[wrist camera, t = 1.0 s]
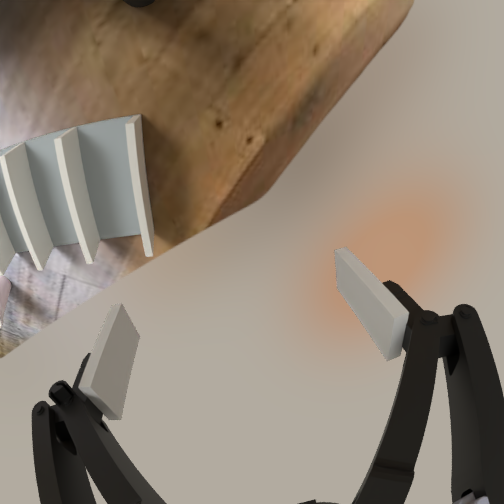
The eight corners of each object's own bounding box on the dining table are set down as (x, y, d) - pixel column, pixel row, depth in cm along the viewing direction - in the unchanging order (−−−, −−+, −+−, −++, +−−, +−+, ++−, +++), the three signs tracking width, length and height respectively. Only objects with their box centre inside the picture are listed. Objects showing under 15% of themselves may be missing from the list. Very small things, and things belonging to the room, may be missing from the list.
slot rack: (-17, 157, 24) (-40, 174, 19) (141, 113, 31) (134, 122, 25) (13, 250, 35) (-1, 275, 30) (154, 229, 42) (152, 256, 36)
